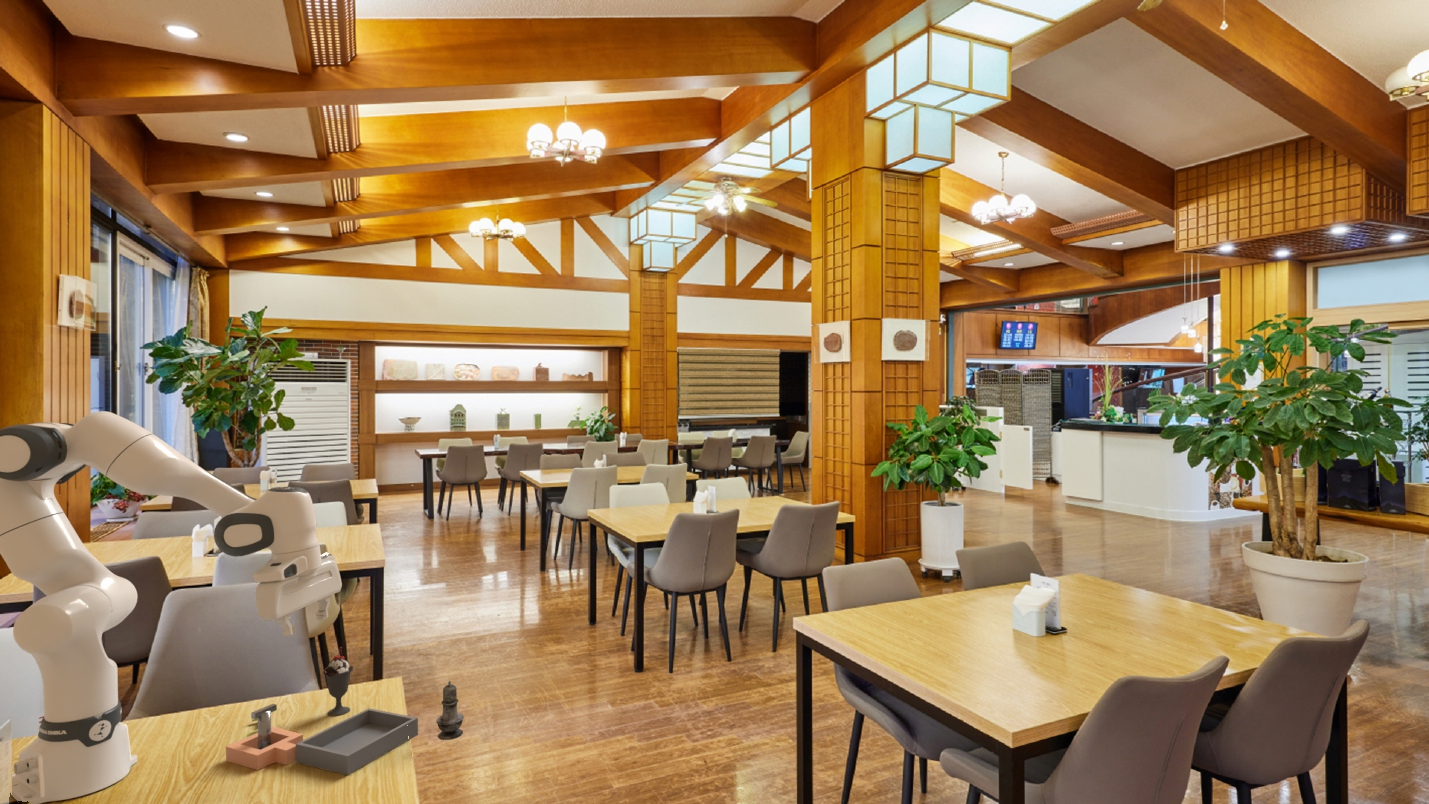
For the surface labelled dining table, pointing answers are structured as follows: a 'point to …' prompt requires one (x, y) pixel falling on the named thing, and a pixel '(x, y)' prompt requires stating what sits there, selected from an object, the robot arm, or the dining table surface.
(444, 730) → the salt shaker
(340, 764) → the tray
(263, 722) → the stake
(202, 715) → the dining table surface
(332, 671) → the sundae
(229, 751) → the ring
